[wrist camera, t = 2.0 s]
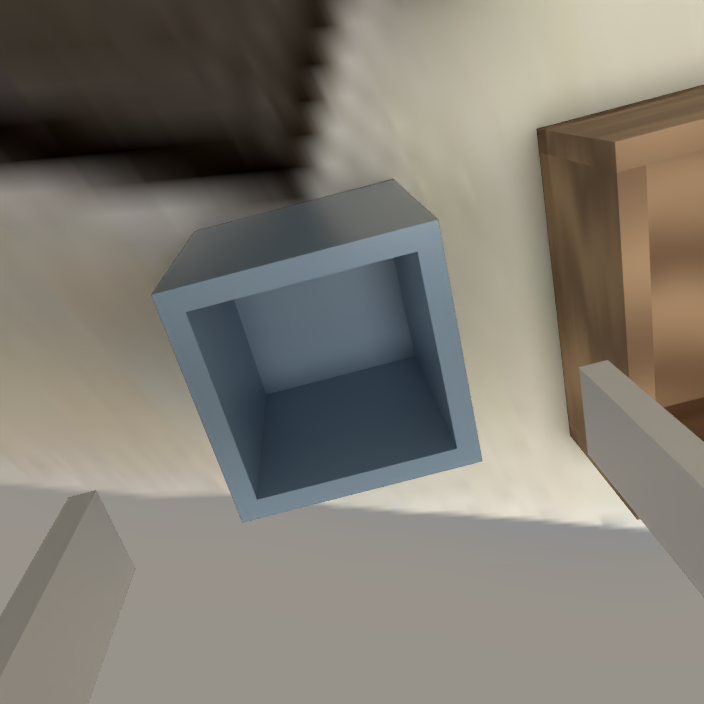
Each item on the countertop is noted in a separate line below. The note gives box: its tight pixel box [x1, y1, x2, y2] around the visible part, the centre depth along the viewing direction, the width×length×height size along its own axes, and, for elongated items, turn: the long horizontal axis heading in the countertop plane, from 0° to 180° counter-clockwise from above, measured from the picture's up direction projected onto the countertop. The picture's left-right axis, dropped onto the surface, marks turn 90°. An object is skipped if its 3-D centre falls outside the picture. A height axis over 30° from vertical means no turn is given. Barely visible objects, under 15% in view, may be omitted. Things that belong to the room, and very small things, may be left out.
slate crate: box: [151, 179, 482, 523], centre depth 24 cm, size 9×9×9 cm
